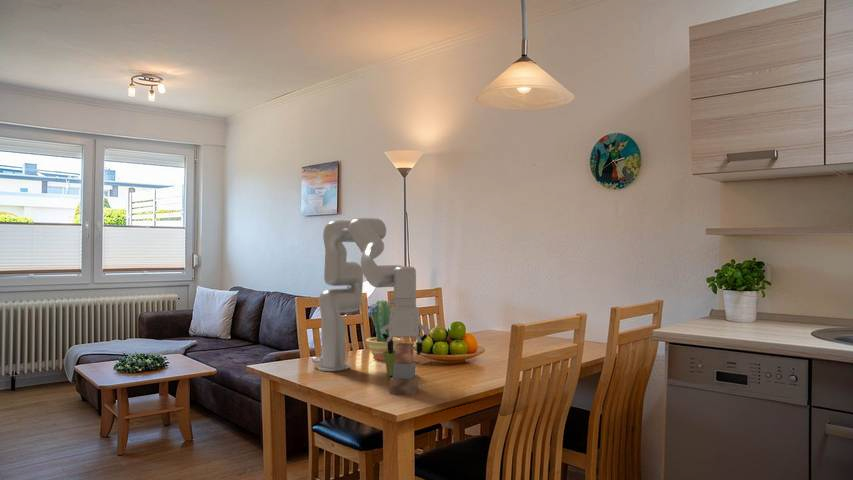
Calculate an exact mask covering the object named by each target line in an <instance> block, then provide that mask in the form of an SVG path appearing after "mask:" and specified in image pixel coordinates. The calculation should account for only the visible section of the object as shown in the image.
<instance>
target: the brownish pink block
mask: <svg viewBox="0 0 853 480" xmlns="http://www.w3.org/2000/svg"><path fill="white" fill-rule="evenodd" d="M413 361H414V343H412V342H411V343H409V342H400V343H398V344H397V345H395V363H401V364H410V363H412V362H413Z"/></svg>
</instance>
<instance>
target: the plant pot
mask: <svg viewBox="0 0 853 480" xmlns="http://www.w3.org/2000/svg"><path fill="white" fill-rule="evenodd" d="M383 354H384V358H385V367H386V368H385V370H386V375H387V376H388V377H391V376H392V377H393V363H395V350H393V353H391V354H389V351H384V352H383Z"/></svg>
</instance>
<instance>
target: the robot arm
mask: <svg viewBox="0 0 853 480" xmlns="http://www.w3.org/2000/svg"><path fill="white" fill-rule="evenodd" d="M386 226H387V225H386V224H385V223H384V221H383V220H381V219H380V218H375V217H374V218H371V217H370V218H369V217H359V218H355V219H353V220H345V219H344V220H343V219H342V220H338V219H337V220H331V221H329V222H328V223H326V225H325V226H324V229H323V232H322V233H323V234H322V235H323V236H322V240H323V245H324V252H325V253H324V271H323V273H324V277H323V279H324V282H325V284H326V285H327V286H332V287H341V286H342V287H343V286H346V288H331V289H326V290H324V291H322V292H321V293H320V295H319V296H318V305H319V310H320V319H321V320H320V323H321V324H320V325H321V344H320V345H321V351H320V352H321V356H319V357H316V356H313V357H312V358H311V362H312V363H313V364H318V365H317V370H319V371H323V372H340V371H346V370H348V369H349V368H350V364H349V363H347V362H346V322H345V319H344V318H343V316H342V314H341V313H348V312H349V313H350V312H356V311H357V310H359V309H360V307H361V305H362V301H363V283H364V278H365V279H366V281H367V282H368V283H369V284H370V285H371V286H372V287H374V288H378V289H379V288H393V298H392V299H389V304H392V306H391V312H390V321H389V324H388V325H386V326H384V327H382V328H380V331H381V333H382V336H383V337H384V338H385V339H386V341H387V342H388V351H389V354H391V353H393V341H392V339H393V337H395V338H415V340H417V343H416V355H417V356H419V355H421V353H422V352H423V342H425V340H426V339H427V338H428V336H429V335H430V333H431V329H430V328H429V327H427V326H426V325H424V324H421V319H420V311H419V307H418V306H417V271H416V268H415V267H414V266H403V265H398V264H396V265H394V264H393V265H392V264H389V265H388V264H387V265H378V264H377V263H376V262H375V259H376V258H378V257H379V256H380V255H382V253H383V252H384V249H385V243H384V241H383V239H385V237H386V234H387V227H386ZM344 243H355V244H356V246H357V247H358V249H359V250H360V252H361V253H362V255H361V259H360V264H359V263H358V262H356V261H347V256H348V252H347V249H346V246H345V245H344ZM388 328H389V335H390V336H388V334H387V333H386V332H385V330H386V329H388ZM421 330H422V331H424V334H423V335H421Z"/></svg>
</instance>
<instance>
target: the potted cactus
mask: <svg viewBox="0 0 853 480" xmlns="http://www.w3.org/2000/svg"><path fill="white" fill-rule="evenodd" d="M391 307H392V306H391V305H390V302H388V301H387V300H377V301H376V302H375V303H372V304H370V305H369V307H368V309H367V314H368V316H369V317H370V318H371V320H372V323H373V326H374V330H375V334H376V336H375V337H374V336H373V337H368V338H366V339H365V340H366V344H367V345H368V347H369V351H370V352H371V354H372V355H373V357H372V358H373V360H380V361H383V360H385V358H384V354H383V352H384V351H388V342H387V341H386V339H385V338H384V337H383V336H382V333H381V331H380V328H382V327H384V326H386V325H388V324H389V321H390V312H391ZM385 332H386V333H387V334H388V336H390V335H389V328H388V329H386V330H385ZM392 341H393V350H395V345H397V344H398V343H401V341H402V340H401V337H393V339H392Z"/></svg>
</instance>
